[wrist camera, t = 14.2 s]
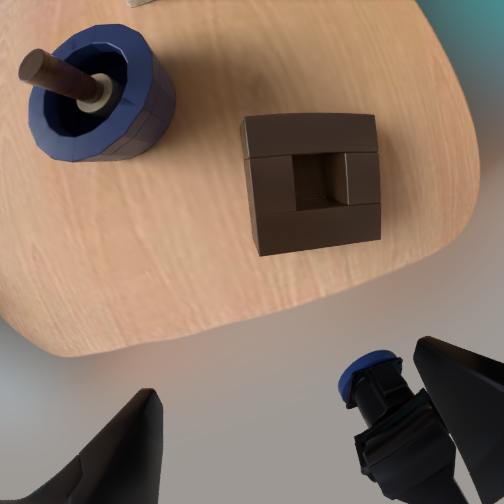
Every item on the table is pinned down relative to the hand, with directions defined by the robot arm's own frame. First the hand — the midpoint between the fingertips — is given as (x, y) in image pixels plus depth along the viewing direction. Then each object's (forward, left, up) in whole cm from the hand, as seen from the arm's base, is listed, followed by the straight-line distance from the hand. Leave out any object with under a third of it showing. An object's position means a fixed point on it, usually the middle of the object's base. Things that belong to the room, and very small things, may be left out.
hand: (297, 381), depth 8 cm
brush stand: (+5, -4, -13) cm, 14 cm away
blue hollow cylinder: (+12, +8, -13) cm, 19 cm away
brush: (+12, +8, -12) cm, 19 cm away
